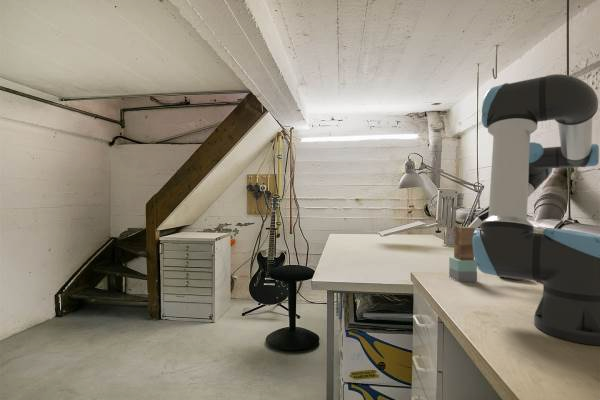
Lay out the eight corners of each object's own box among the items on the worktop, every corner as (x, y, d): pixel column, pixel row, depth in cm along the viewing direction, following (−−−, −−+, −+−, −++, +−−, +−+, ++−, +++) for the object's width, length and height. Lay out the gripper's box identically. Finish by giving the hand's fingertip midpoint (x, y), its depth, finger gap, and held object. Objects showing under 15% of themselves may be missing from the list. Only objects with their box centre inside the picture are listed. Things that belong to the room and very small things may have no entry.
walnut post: (473, 260, 122) (474, 228, 121) (460, 259, 121) (461, 227, 121) (466, 257, 127) (467, 226, 126) (454, 257, 126) (454, 226, 126)
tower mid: (476, 271, 121) (476, 260, 121) (457, 271, 121) (457, 260, 121) (467, 267, 128) (467, 257, 128) (449, 267, 128) (449, 257, 128)
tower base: (476, 282, 121) (477, 271, 121) (458, 282, 121) (458, 271, 121) (466, 277, 128) (466, 267, 128) (449, 277, 128) (449, 267, 128)
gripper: (550, 200, 113) (509, 244, 112) (501, 200, 138) (467, 236, 137) (536, 185, 113) (495, 228, 112) (489, 187, 138) (455, 223, 137)
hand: (479, 232), depth 124 cm, fingers open, 13 cm apart
